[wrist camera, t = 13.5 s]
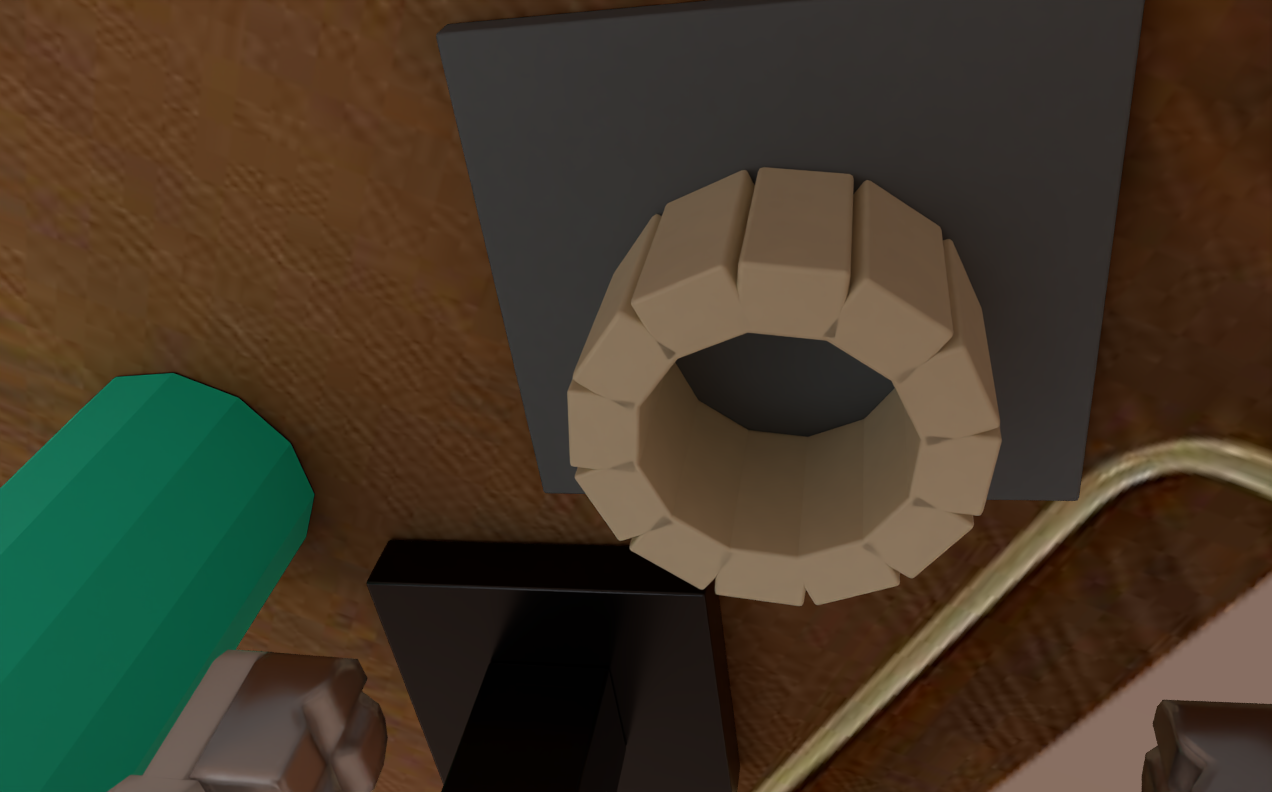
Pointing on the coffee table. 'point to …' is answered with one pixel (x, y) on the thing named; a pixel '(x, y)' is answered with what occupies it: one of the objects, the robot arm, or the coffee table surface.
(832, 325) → the tan segmented ring
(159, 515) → the candle
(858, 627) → the coffee table surface
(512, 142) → the mat
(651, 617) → the stand
